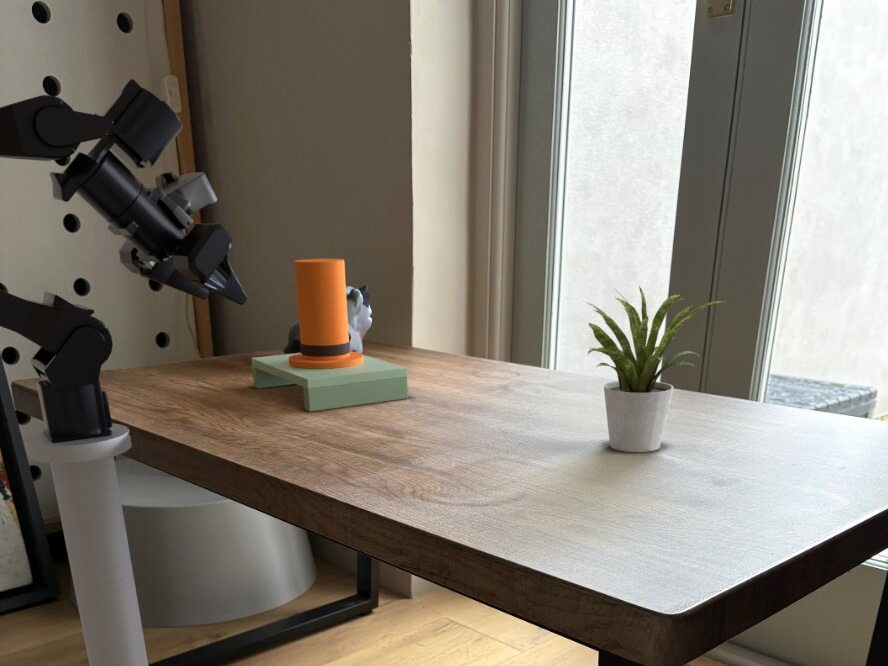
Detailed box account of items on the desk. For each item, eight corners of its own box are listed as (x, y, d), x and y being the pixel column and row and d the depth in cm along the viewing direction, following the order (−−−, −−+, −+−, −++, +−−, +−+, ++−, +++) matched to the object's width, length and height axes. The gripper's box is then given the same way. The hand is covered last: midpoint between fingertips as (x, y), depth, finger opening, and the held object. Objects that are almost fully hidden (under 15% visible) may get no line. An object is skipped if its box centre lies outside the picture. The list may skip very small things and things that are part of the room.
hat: (346, 370, 120) (339, 263, 114) (276, 367, 122) (266, 262, 117) (374, 357, 128) (369, 257, 123) (308, 355, 131) (300, 257, 126)
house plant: (704, 429, 104) (718, 275, 97) (727, 462, 91) (745, 288, 85) (575, 429, 105) (581, 276, 98) (581, 461, 92) (588, 289, 86)
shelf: (309, 411, 116) (307, 379, 114) (253, 386, 131) (250, 357, 130) (408, 398, 122) (407, 367, 121) (343, 376, 138) (341, 348, 136)
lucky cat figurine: (278, 356, 154) (303, 276, 154) (346, 382, 158) (371, 304, 158) (289, 342, 140) (316, 253, 140) (363, 370, 143) (390, 284, 143)
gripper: (206, 140, 96) (304, 249, 107) (129, 148, 109) (224, 244, 120) (144, 224, 94) (250, 326, 105) (74, 222, 107) (175, 313, 118)
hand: (225, 299), depth 112 cm, fingers open, 9 cm apart
